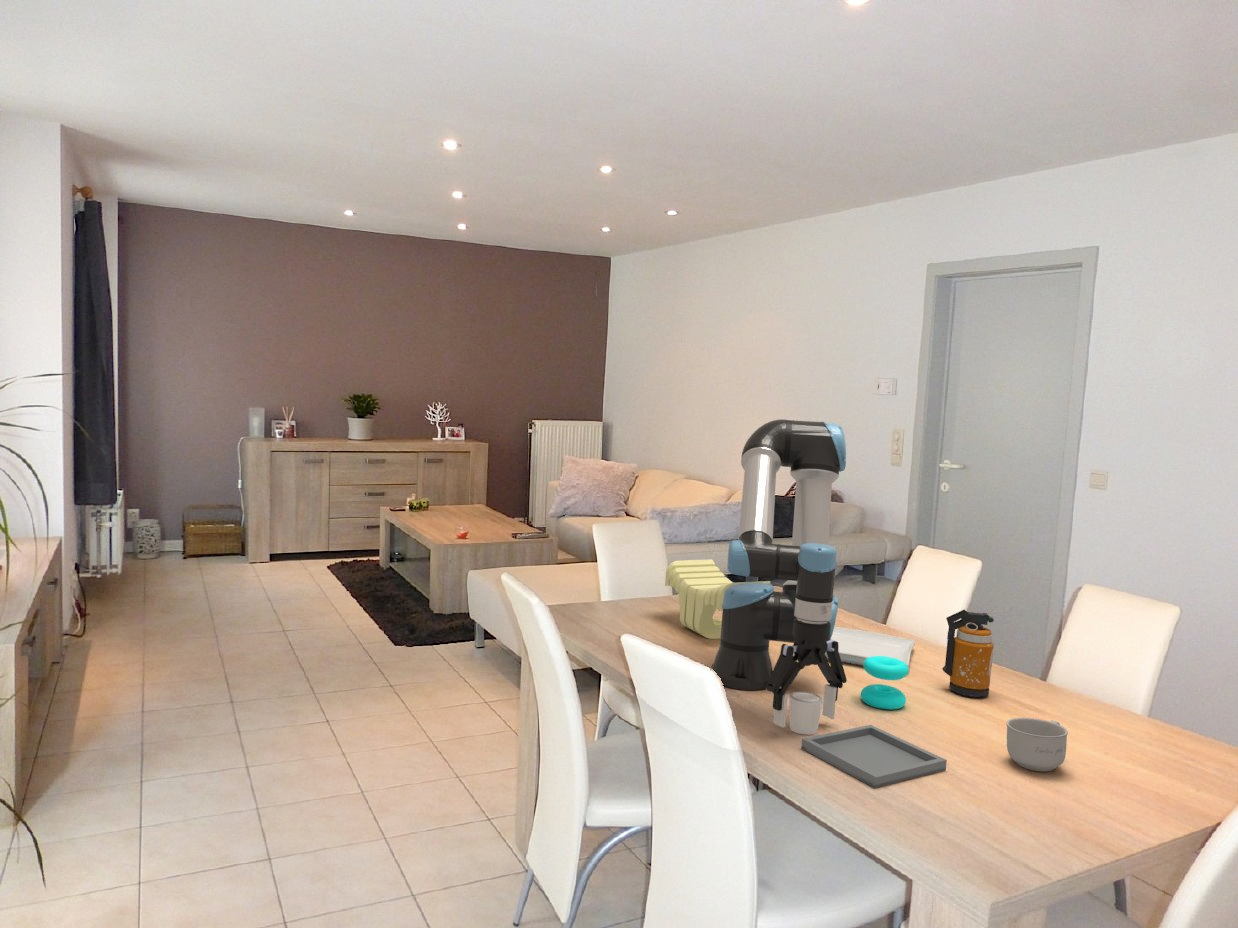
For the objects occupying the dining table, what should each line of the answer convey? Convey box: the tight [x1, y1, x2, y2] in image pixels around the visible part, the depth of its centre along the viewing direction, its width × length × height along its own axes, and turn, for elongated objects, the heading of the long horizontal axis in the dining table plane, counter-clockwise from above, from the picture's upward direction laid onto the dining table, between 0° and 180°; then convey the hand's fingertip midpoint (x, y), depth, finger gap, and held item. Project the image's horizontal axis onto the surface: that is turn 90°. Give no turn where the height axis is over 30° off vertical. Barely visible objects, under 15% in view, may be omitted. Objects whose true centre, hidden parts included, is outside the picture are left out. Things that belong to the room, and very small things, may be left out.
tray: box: [800, 724, 948, 789], centre depth 173 cm, size 19×19×2 cm
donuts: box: [860, 656, 910, 710], centre depth 206 cm, size 10×10×10 cm
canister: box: [941, 609, 995, 698], centre depth 217 cm, size 9×11×20 cm
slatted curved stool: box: [664, 558, 771, 640], centre depth 258 cm, size 30×16×18 cm, turn 26°
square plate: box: [825, 626, 916, 667], centre depth 245 cm, size 27×27×4 cm
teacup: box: [1006, 717, 1069, 772], centre depth 176 cm, size 14×11×8 cm
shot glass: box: [788, 691, 824, 736], centre depth 186 cm, size 7×7×7 cm
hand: (804, 720), depth 186 cm, fingers open, 13 cm apart
